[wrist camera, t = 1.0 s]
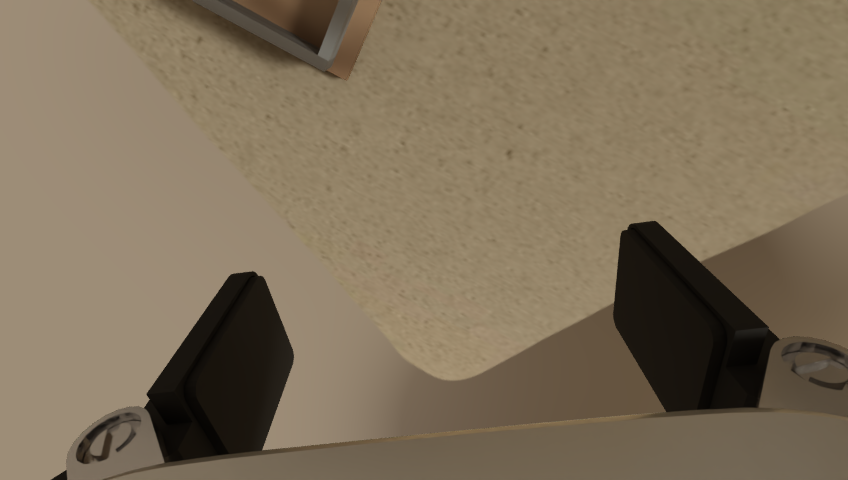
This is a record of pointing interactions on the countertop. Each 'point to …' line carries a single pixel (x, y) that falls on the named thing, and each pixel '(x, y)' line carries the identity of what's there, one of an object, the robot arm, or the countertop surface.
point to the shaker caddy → (305, 27)
